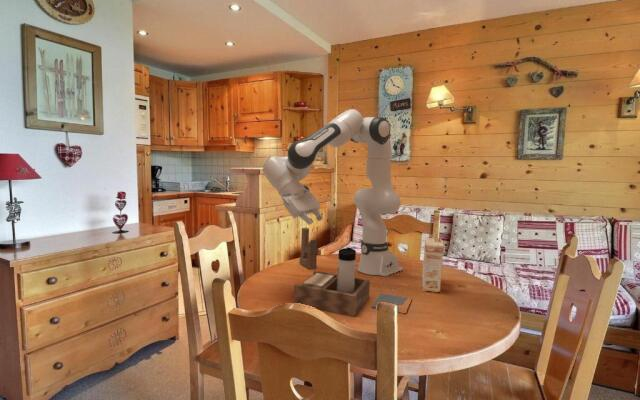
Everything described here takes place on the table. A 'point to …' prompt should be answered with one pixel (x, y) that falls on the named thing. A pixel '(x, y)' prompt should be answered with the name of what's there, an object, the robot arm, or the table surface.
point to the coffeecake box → (432, 264)
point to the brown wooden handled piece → (308, 250)
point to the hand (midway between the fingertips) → (316, 221)
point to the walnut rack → (333, 296)
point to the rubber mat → (390, 300)
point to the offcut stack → (319, 280)
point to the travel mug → (346, 270)
